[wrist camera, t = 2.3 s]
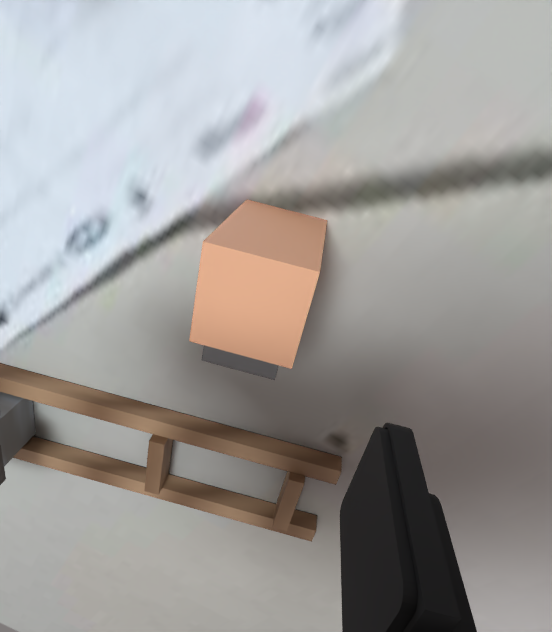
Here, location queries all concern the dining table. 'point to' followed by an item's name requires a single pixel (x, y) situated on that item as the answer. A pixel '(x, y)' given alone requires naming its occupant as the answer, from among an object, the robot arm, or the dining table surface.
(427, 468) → the dining table surface
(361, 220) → the dining table surface
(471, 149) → the dining table surface
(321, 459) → the rail
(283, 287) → the block
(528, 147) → the dining table surface
